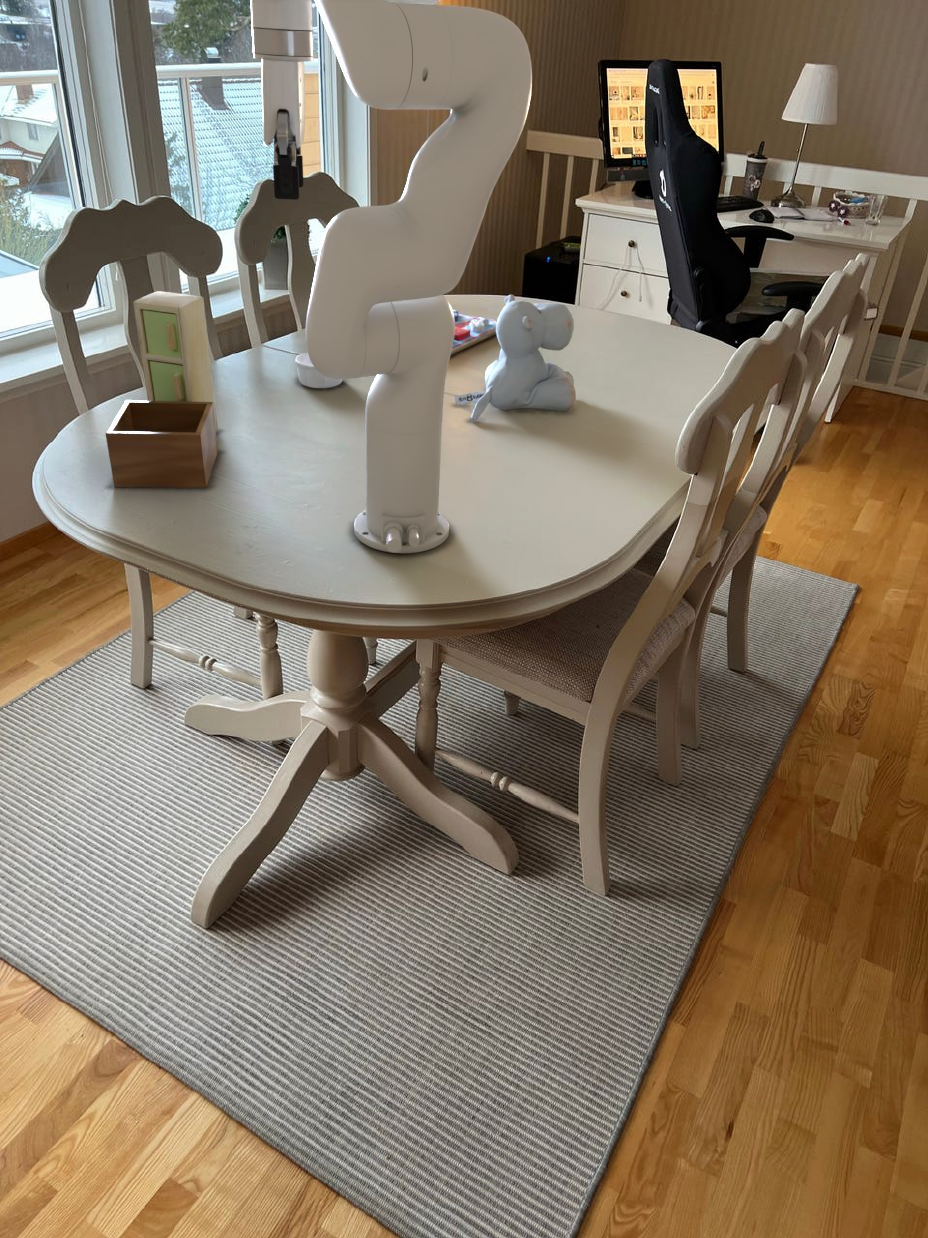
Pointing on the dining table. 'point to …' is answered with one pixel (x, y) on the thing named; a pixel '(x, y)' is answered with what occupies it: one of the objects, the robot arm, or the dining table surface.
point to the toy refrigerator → (175, 348)
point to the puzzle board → (471, 330)
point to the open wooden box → (162, 444)
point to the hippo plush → (527, 360)
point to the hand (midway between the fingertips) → (289, 192)
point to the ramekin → (312, 374)
